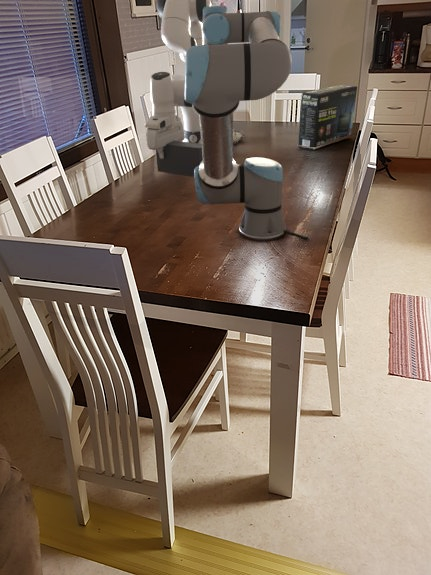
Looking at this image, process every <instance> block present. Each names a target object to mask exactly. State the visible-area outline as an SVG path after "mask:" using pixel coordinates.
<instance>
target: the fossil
mask: <svg viewBox="0 0 431 575" xmlns="http://www.w3.org/2000/svg"><path fill="white" fill-rule="evenodd" d="M245 134H246V133H245V132H244V131H242V130H241V129H235V128H234V127H233V145H236V143H235V142H237V143H239V142H240V141H241V140H242V139H243V138H242V136H245V137H246V135H245ZM239 140H240V141H239ZM238 141H239V142H238Z"/></svg>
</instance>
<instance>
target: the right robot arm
mask: <svg viewBox="0 0 431 575" xmlns="http://www.w3.org/2000/svg"><path fill="white" fill-rule="evenodd" d="M281 27H282V20H281V14H280V12H278V11H270V10H266V11H253V12H251V11H249V12H228V7H227V6H226V5H211V6H206V7H204V8H203V23H202V31H203V38H204V44H203V45H199V46H192V47H190V48H189V49H188V50H187V52H186V62H184V63H185V64H184V73H185V101H186V102H187V103H190V104H192V106H193V108H194V110H195V111H196V112H197V113H198V114H199V121H200V133H201V144H202V156H203V160H202V162H201V163H200V166H197V167H196V168H195V172H194V177H193V178H194V187H195V193H196V197H197V199H198V201H199V203H201V204H203V205H227V204H244V211H243V213H242V216H241V220H240V222H239V226H238V232H239V235H240V236H241V237H242V238H244V239H247V240H250V241H254V242H271V241H277V240H279V239H281V238H283V237H285V235H289V236H293V237H296V238H298V239H302V240H305V241H308V240H309V237H308V236H305V235H301V234H299V233H296V232H293V231H289V230H287V223H286V221H285V216H284V214H283V210H282V200H283V182H284V177H283V176H284V175H283V173H284V172H283V171H284V170H283V166H282V164H280V162H278V161H276V160H274V159H270V158H265V157H250V158H245V159H244V162H243V164H238V163H237V162H236V161H235V159H234V144H233V128H234V113H235V112H236V110H238V107H239V106H240V102H245V101H247V102H249V101H259V100H262V99H264V98H267V97H269V96H270V95H273V94H274V93H275V92H277V91H278V90H279V89H281V87H282V86H283V85H284V84H285V83H286V82H287V80H288V78H289V76H290V73H291V71H292V64H293V59H292V55H291V52H290V49H289V48H288V46H287V44H285V42H283V40H281V39H280V37H281V31H282V30H281Z"/></svg>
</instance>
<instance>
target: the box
mask: <svg viewBox="0 0 431 575" xmlns="http://www.w3.org/2000/svg"><path fill="white" fill-rule="evenodd" d="M182 141H183V140H182ZM182 141H181V140H178V141H173V142H170V143H168V144H166V146H164V147H163V153H165V158H163V159H162V158H160V156H159V153H158V151H157V150H155V156H156V157H155V158H156V166H157V172H160V173H166V174H172V175H178V176H185V177H191V178H194V172H195V168H196V167H197V166H200V163H201V162H202V160H203V156H202V144H199V143H190V142H182Z"/></svg>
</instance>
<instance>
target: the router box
mask: <svg viewBox="0 0 431 575" xmlns="http://www.w3.org/2000/svg"><path fill="white" fill-rule="evenodd" d="M357 93H358V86H356V85H350V84H339V85H338V84H337V85H334V86H328V87H324V88H318V89H314V90H309V91H304V92H301V93H300V109H299V110H300V111H299V124H298V137H297V146H298V145H302V146H307V147H317V146H320V145H323V144H325V143H328V142H331V141H333V140H336V139H338V138H341V137H344V136H347V135H351V136H352V133H353V132H352V131H353V125H354V115H355V109H356V99H357ZM311 151H313V150H312V149H311Z"/></svg>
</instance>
